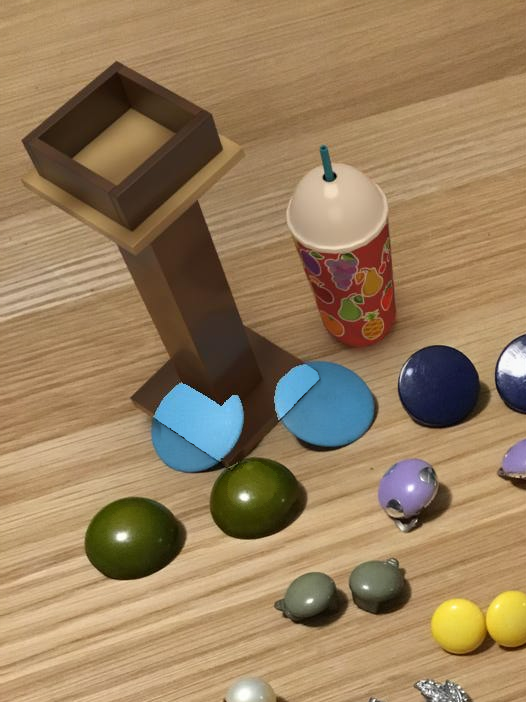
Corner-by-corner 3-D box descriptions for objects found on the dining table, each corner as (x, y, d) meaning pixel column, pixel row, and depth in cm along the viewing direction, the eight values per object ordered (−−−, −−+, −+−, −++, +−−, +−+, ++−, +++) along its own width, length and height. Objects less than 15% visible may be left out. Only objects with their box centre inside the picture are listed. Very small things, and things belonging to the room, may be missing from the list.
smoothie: (399, 280, 105) (369, 100, 87) (412, 350, 102) (385, 178, 84) (311, 296, 105) (263, 118, 87) (322, 366, 102) (274, 197, 83)
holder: (134, 405, 101) (-11, 144, 75) (223, 318, 105) (116, 40, 78) (231, 471, 98) (116, 221, 71) (320, 379, 101) (242, 109, 75)
